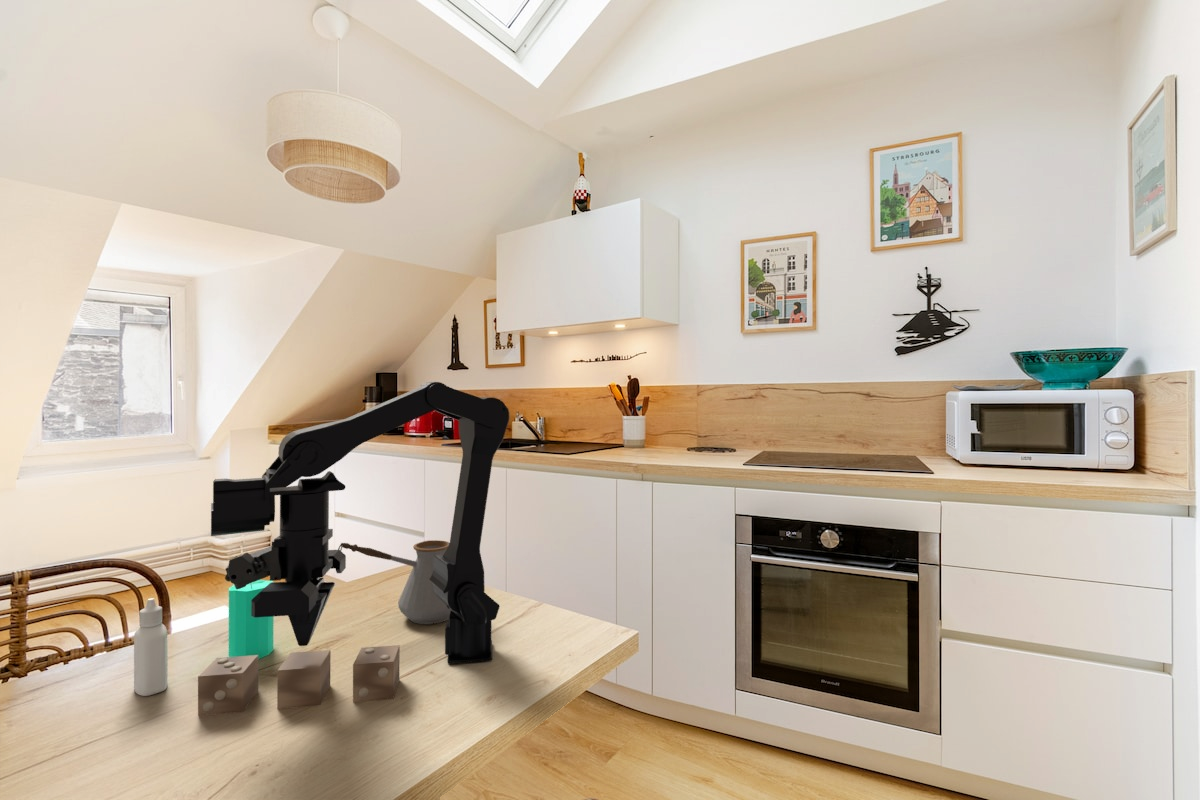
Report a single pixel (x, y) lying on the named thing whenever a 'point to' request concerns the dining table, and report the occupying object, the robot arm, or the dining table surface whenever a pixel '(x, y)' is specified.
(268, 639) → the candle
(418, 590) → the coffee pot
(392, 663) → the two dot block
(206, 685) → the three dot block
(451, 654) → the robot arm
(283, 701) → the plain block
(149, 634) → the eye dropper bottle
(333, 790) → the dining table surface
